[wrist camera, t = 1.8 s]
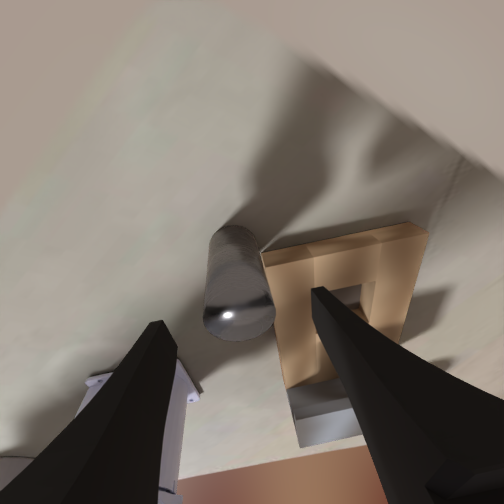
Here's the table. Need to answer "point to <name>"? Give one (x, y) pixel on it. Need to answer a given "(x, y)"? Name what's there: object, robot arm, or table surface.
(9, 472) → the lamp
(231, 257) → the peg
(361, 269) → the socket board
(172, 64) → the table surface
